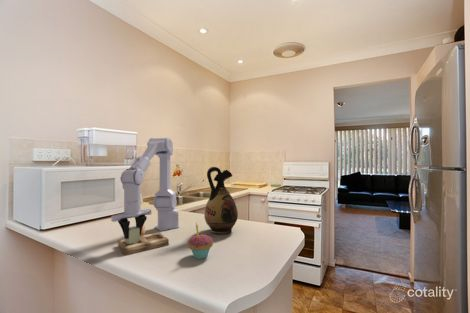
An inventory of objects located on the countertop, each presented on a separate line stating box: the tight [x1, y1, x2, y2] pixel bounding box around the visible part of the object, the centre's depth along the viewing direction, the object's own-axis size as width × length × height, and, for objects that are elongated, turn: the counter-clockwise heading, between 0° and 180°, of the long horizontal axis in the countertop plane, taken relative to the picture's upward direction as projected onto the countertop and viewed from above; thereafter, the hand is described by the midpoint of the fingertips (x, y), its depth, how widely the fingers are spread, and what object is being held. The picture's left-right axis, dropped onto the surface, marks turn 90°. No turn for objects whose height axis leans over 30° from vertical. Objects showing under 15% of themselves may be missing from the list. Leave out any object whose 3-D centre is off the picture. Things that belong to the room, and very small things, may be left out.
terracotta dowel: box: [134, 224, 146, 236], centre depth 98 cm, size 4×4×5 cm
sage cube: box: [123, 225, 140, 244], centre depth 88 cm, size 4×4×5 cm
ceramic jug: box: [203, 166, 239, 235], centre depth 107 cm, size 17×15×30 cm
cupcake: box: [187, 222, 214, 260], centre depth 80 cm, size 9×8×12 cm
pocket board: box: [117, 231, 170, 256], centre depth 90 cm, size 16×11×2 cm
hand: (132, 236), depth 88 cm, fingers closed on sage cube, 4 cm apart
